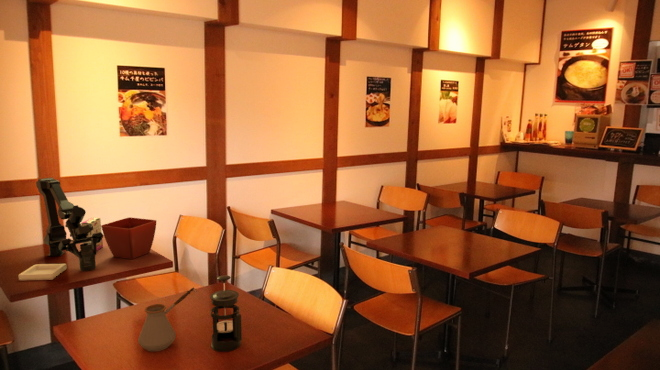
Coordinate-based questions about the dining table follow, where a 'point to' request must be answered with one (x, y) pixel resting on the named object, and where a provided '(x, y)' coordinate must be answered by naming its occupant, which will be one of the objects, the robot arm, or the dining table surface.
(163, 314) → the coffee pot
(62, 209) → the robot arm
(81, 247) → the supplement bottle
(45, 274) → the tray
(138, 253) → the plant pot
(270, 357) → the dining table surface
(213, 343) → the french press
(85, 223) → the candy bar box
